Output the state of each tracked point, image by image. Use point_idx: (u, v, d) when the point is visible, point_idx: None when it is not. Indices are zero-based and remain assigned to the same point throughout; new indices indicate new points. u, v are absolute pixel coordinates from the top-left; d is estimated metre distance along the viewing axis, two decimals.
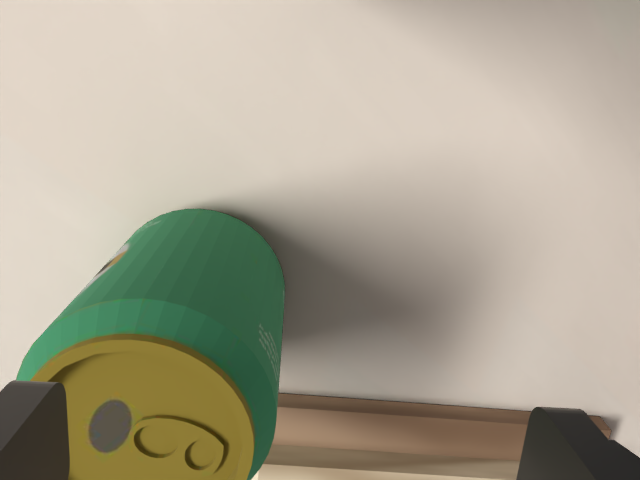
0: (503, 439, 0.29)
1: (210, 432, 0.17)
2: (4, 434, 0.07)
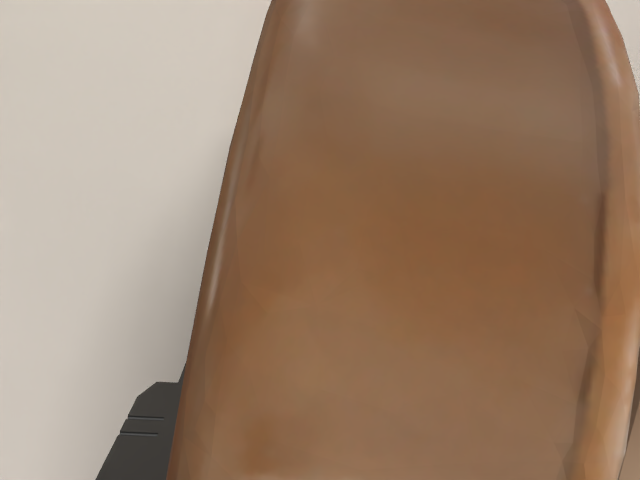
0: None
1: None
2: None
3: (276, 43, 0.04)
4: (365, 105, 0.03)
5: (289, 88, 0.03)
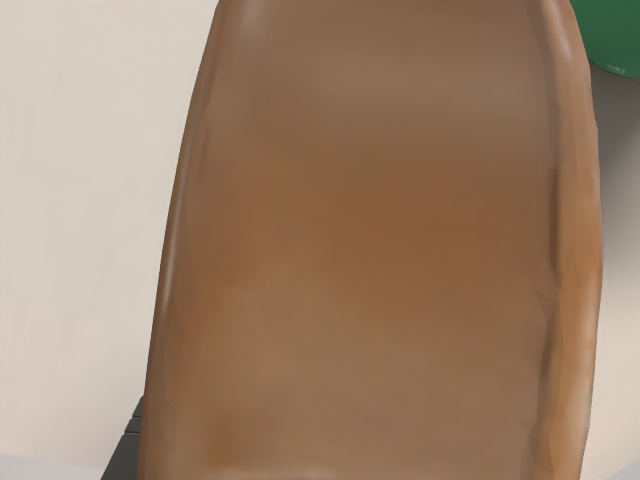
0: None
1: None
2: None
3: (222, 37, 0.04)
4: (313, 93, 0.03)
5: (235, 81, 0.03)
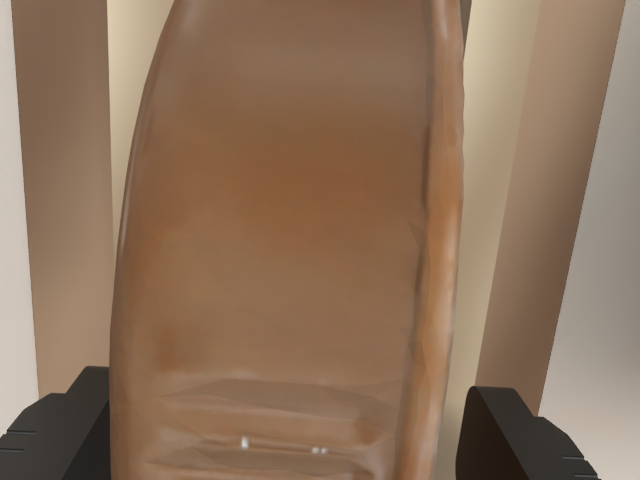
0: None
1: None
2: (91, 413, 0.08)
3: (168, 37, 0.05)
4: (235, 77, 0.04)
5: (175, 71, 0.04)
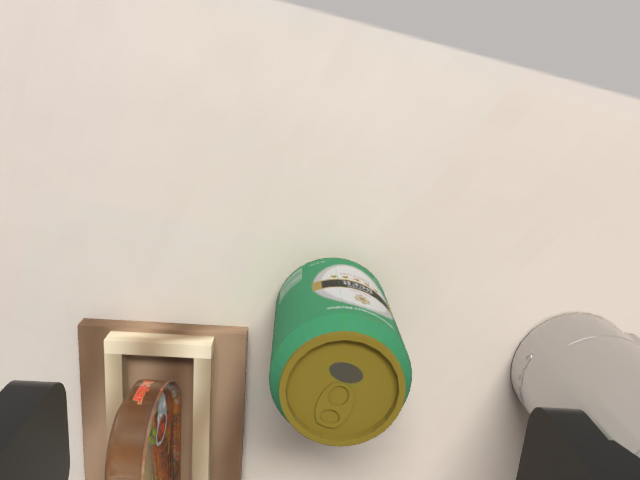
0: None
1: (341, 420, 0.31)
2: (4, 434, 0.07)
3: (112, 430, 0.35)
4: (120, 438, 0.34)
5: (113, 437, 0.34)
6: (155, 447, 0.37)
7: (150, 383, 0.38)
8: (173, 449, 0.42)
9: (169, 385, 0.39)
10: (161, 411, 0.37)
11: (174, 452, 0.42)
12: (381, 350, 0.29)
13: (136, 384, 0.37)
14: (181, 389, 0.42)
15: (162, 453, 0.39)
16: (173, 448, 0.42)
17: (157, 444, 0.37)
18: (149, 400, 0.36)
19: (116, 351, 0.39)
